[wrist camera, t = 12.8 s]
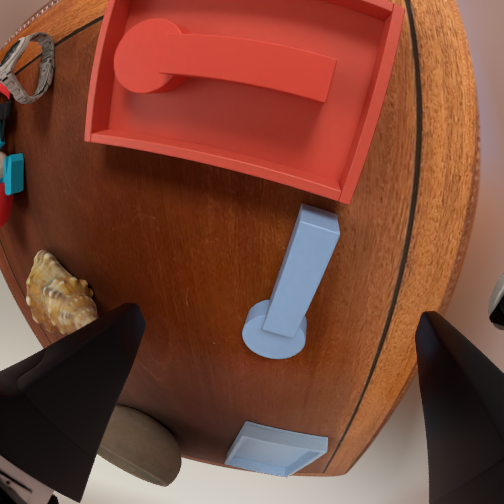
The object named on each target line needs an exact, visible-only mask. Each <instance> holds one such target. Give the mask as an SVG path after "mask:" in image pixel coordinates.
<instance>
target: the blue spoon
mask: <svg viewBox="0 0 504 504" xmlns="http://www.w3.org/2000/svg"><path fill="white" fill-rule="evenodd" d="M339 236H340V230H339V225H338V219H337V214H335V213H332V212H329V211H325V210H322V209H319V208H316V207H313V206H310V205H307V204H301V207H300V211H299V214H298V217H297V220H296V223H295V226H294V229H293V232H292V235H291V238H290V241H289V245H288V248H287V251H286V254H285V257H284V260H283V262H282V265H281V268H280V271H279V274H278V277H277V280H276V283H275V286H274V289H273V292H272V295H271V297H270V300H264V301H261V302H259V303H257V304H255V305H254V306H253V307H252V308H251V309H250V311H249V313H248V315H247V318H246V322H245V325H244V328H243V332H242V336H243V340H244V342H245V344H246V345H247V346H248V347H249V348H250V349H251V350H252V351H253V352H255V353H257V354H258V355H261V356H264V357H267V358H272V359H283V358H288V357H291V356H294V355H296V354H297V353H299V352H300V351H301V350H302V348H303V347H304V345H305V340H306V328H307V321H306V317H305V314H306V312H307V310H308V307H309V305H310V303H311V301H312V299H313V297H314V294H315V292H316V290H317V288H318V286H319V283H320V281H321V279H322V276H323V274H324V272H325V270H326V267H327V265H328V263H329V260H330V258H331V256H332V253H333V251H334V248H335V246H336V244H337V241H338V239H339Z"/></svg>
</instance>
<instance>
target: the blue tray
mask: <svg viewBox="0 0 504 504" xmlns="http://www.w3.org/2000/svg"><path fill="white" fill-rule="evenodd" d="M327 447H328V437H321V436H315V435H309V434H303V433H298V432H292V431H287V430H283V429H278V428H273V427H269V426H265V425H261V424H257V423H253V422H249V421H246V422H245V424H244V425H243V427H242V429H241V431H240V432H239V434H238V436H237V437H236V439H235V441H234V443H233V444H232V446H231V448H230V449H229V451H228V453H227V455H226V459H225V462H224V464H226V465H230V466H234V467H238V468H242V469H246V470H250V471H255V472H260V473H265V474H271V475H276V476H282V477H288V476H290V475H292V474H293V473H295V472H297V471H298V470H300V469H302V468H303V467H305V466H307V465H308V464H310V463H311V462H313V461H314V460H316V459H317V458H319V457H320V456H322V455H323V454H325V453H326V452H327Z"/></svg>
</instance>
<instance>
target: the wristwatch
mask: <svg viewBox="0 0 504 504" xmlns="http://www.w3.org/2000/svg"><path fill="white" fill-rule="evenodd" d="M29 41H38V43H39V44H40V46H41V47H42V53H43V58H42V61H41V62H42V63H40V64H39V66H40V76H39V81H38V86H37V89H36V92H35V94H34V95H33V96H29V95H27V93H26V92H25V90H24V89H23V88H22V86H21V84H20V83H19V81H18V80H17V78H16V76H15V75H14V73H13V70H14V67H15V65H16V63H17V61H18V60H19V59H20V57H21V56H22V54H23V53H24V51H25V49H26V47H27V45H28V44H29ZM54 50H55V46H54V40H53V38H52V37H51V36H50V35H48V34H47V33H45V32H37V33H34V34H32V35H28V36H26V37H22V38H21V39H19V40H18V41H17V42H16V43H15V44H14V45H13V46H12V47H11V48H10V49H9V51H8V52H7V53H6V55H5V56H4V58H3V60H2V61H1V63H0V82H1V83H2V84H3V85H4V86H5V87H7V89H8V90H9V92H10V93H12V94H13V96H14V98H15V99H16V100H17V101H18V102H19V103H21V104H29V103H32V102H35V101H36V100H37V99H38V98H40V97H41V96H42V95H43V94H44V93H45V92H46V91H47V89H48V87H49V86H50V85H51V83H52V78H53V74H54V69H55V63H54V61H55V59H54Z"/></svg>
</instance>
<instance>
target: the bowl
mask: <svg viewBox="0 0 504 504" xmlns="http://www.w3.org/2000/svg"><path fill="white" fill-rule="evenodd" d="M97 454H98V455H100V456H101V457H102V458H104V459H105V460H107V461H109V462H110V463H112V464H114V465H115V466H117V467H119V468H121V469H122V470H124V471H126V472H128V473H130V474H132V475H134V476H136V477H138V478H140V479H142V480H145V481H147V482H150V483H153V484H156V485H160V486H165V487H166V486H168V485H169V484H170V483H172V482H173V481H174V479H175V478H176V477H177V475H178V473H179V471H180V468H181V453H180V449H179V446H178V444H177V441H176V440H175V438H174V437H173V436H172V434H171V433H170V432H169V431H168V430H167V429H166V428H164V427H163V426H162V425H161V424H159V423H158V422H157V421H155V420H154V419H152V418H151V417H149V416H148V415H146V414H144V413H142V412H140V411H138V410H135V409H133V408H130V407H125V406H121V405H116V406H115V408H114V410H113V413H112V415H111V418H110V420H109V423H108V426H107V428H106V431H105V433H104V436H103V438H102V441H101V444H100V446H99V449H98V452H97Z"/></svg>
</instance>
